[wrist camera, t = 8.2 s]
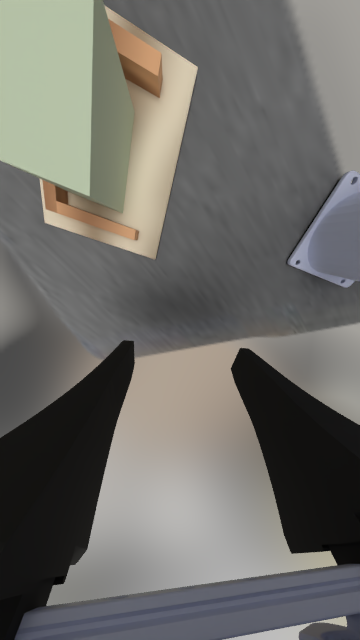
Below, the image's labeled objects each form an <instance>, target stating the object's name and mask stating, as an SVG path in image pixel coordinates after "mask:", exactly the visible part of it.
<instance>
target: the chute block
mask: <svg viewBox="0 0 360 640" xmlns="http://www.w3.org/2000/svg"><path fill="white" fill-rule="evenodd" d="M134 113H135V112H134V108H133V105H132V101H131V98H130V94H129V90H128V87H127V83H126V80H125V76H124V73H123V69H122V66H121V62H120V59H119V55H118V52H117V48H116V45H115V41H114V38H113V34H112V31H111V27H110V24H109V20H108V17H107V13H106V10H105V6H104V3H103V0H0V161H2V162H5V163H7V164H9V165H11V166H13V167H16V168H18V169H20V170H22V171H24V172H27V173H29V174H31V175H33V176H35V177H38V178H40V179H42V180H44V181H46V182H49V183H51V184H53V185H55V186H57V187H60V188H62V189H64V190H66V191H68V192H71V193H73V194H75V195H78V196H80V197H83V198H85V199H88V200H90V201H93V202H95V203H98V204H100V205H103V206H105V207H108V208H110V209H113V210H115V211H118V212H120V213H123V209H124V201H125V192H126V183H127V175H128V166H129V157H130V148H131V140H132V131H133V122H134Z"/></svg>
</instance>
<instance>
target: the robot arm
mask: <svg viewBox="0 0 360 640" xmlns="http://www.w3.org/2000/svg"><path fill="white" fill-rule="evenodd" d="M352 179H353V181H352ZM351 181H352V183H351ZM297 260H298V262H297V263H296V261H297ZM288 265H290V266H293V267H295V268H298V269H300V270H303V271H305V272H307V273H310V274H312V275H315V276H317V277H320V278H322V279H325V280H327V281H330V282H332V283H335V284H337V285H339V286H342V287H349V286H351V285H352V284H353V283H354V281H359V282H360V174H359V173H358V172H356V171H354V170H352V171H349V172H347V173H345V174H344V175H343V176H342V178H341V179H340V181H339V182H338V184H337V185H336V187H335V189H334V190H333V192H332V193H331V195H330V196H329V198H328V199H327V201H326V202H325V204H324V205H323V207H322V209H321V210H320V212H319V213H318V215H317V216H316V218H315V219H314V221H313V222H312V224H311V225H310V227H309V228H308V230H307V232H306V233H305V235H304V236H303V238H302V239H301V241H300V242H299V244H298V245H297V247H296V248H295V250H294V252H293V253H292V255H291V256H290V258H289V259H288ZM134 363H135V362H134V341H126V340H124V341H122V342H121V343H120V344H119V345H118V347H117V348H116V349H115V350H114V351H113V352H112V353H111V354H110V355H109V356H108V357H107V358H106V359H105V360H104V361H103V362H101V364H100V365H98V367H96V368H95V369H94V370H93V371H92V372H91V373H89V374H88V375H87V376H86V377H85V378H84V379H83V380H81V381H80V382H79V383H78V384H77V385H75V386H74V387H73V388H71V389H70V390H69V391H68V392H66V393H65V394H64V395H63V396H61V397H60V398H58V399H57V400H56V401H54V402H53V403H52V404H50V405H49V406H47V407H46V408H45V409H43V410H42V411H40V412H39V413H38V414H36V415H35V416H33V417H32V418H30V419H29V420H27V421H26V422H24V423H23V424H21V425H20V426H18V427H17V428H15V429H14V430H12V431H10V432H9V433H7V434H6V435H4V436H3V437H1V438H0V640H222V639H227V638H232V637H238V636H243V635H249V634H253V633H259V632H264V631H269V630H275V629H280V628H285V627H290V626H296V625H301V624H306V623H311V622H316V621H322V620H327V619H332V618H338V617H343V616H346V619H347V627H345V626H340V625H335V624H329V623H313V624H310V625H309V626H308V627H306V628H305V629H303V630H302V631H300V632H299V640H360V425H358V424H356V423H355V422H353V421H351V420H350V419H348V418H346V417H344V416H343V415H341V414H339V413H337V412H336V411H334V410H333V409H331V408H330V407H328V406H326V405H325V404H323V403H322V402H320V401H319V400H317V399H315V398H314V397H312V396H311V395H310V394H308V393H307V392H305V391H304V390H302V389H301V388H299V387H298V386H297V385H295V384H294V383H292V382H291V381H290V380H288V379H287V378H285V377H284V376H283V375H282V374H281V373H279V372H278V371H277V370H275V369H274V368H273V367H272V366H270V365H269V364H268V363H267V362H265V361H264V360H263V359H262V358H260V357H259V356H258V355H256V354H255V353H254V352H252V351H251V350H250V349H246V348H240V350H239V352H238V354H237V356H236V358H235V361H234V363H233V365H232V367H231V371H232V374H233V378H234V381H235V384H236V386H237V389H238V391H239V393H240V396H241V398H242V400H243V402H244V405H245V407H246V409H247V411H248V414H249V416H250V418H251V421H252V423H253V426H254V429H255V432H256V435H257V437H258V440H259V443H260V447H261V450H262V453H263V456H264V460H265V463H266V466H267V469H268V473H269V477H270V480H271V484H272V488H273V491H274V495H275V499H276V503H277V507H278V511H279V515H280V519H281V524H282V528H283V533H284V536H285V539H286V541H287V544H288V546H289V549H290V551H291V553H292V554H293V553H308V552H323V551H331V553H332V555H333V557H334V559H335V561H336V563H337V566H330V567H323V568H316V569H309V570H301V571H294V572H287V573H280V574H273V575H266V576H259V577H251V578H244V579H237V580H230V581H223V582H216V583H209V584H201V585H195V586H187V587H180V588H173V589H166V590H159V591H152V592H144V593H138V594H130V595H123V596H116V597H109V598H102V599H94V600H87V601H81V602H74V603H67V604H59V605H51V606H46V604H47V601H48V598H49V595H50V592H51V589H52V586H53V585H58V584H64V582H65V579H66V576H67V573H68V570H69V566H70V565H75V564H76V563H77V562H78V561H79V559H80V558H81V557H82V555H83V554H84V553H85V552H86V550H87V548H88V543H89V538H90V534H91V529H92V524H93V520H94V515H95V511H96V506H97V501H98V497H99V493H100V489H101V484H102V480H103V475H104V471H105V467H106V463H107V459H108V455H109V450H110V446H111V442H112V438H113V434H114V430H115V427H116V423H117V420H118V417H119V414H120V411H121V408H122V405H123V402H124V399H125V396H126V393H127V390H128V387H129V384H130V381H131V378H132V373H133V369H134Z"/></svg>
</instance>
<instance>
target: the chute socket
mask: <svg viewBox="0 0 360 640" xmlns="http://www.w3.org/2000/svg"><path fill="white" fill-rule="evenodd" d="M105 10H106V13H107V17H108V20H109V24H110V27H111V31H112V34H113V38H114V41H115V45H116V48H117V52H118V55H119V59H120V62H121V66H122V69H123V73H124V76H125V80H126V83H127V87H128V90H129V94H130V98H131V101H132V105H133V108H134V112H135V113H134V122H133V131H132V140H131V148H130V157H129V166H128V175H127V183H126V192H125V201H124V209H123V213H120V212H118V211H115V210H113V209H110V208H108V207H105V206H103V205H100V204H98V203H95V202H93V201H90V200H88V199H85V198H83V197H80V196H78V195H75V194H73V193H71V192H68V191H66V190H64V189H62V188H60V187H57V186H55V185H53V184H51V183H49V182H46V181H44V180H42V179H40V186H41V194H42V202H43V211H44V219H45V223H47V224H50V225H53V226H56V227H59V228H62V229H65V230H68V231H71V232H74V233H77V234H80V235H83V236H86V237H89V238H92V239H95V240H98V241H101V242H104V243H107V244H110V245H113V246H116V247H119V248H122V249H125V250H128V251H131V252H134V253H137V254H140V255H143V256H146V257H149V258H152V259H156V255H157V250H158V246H159V241H160V237H161V232H162V228H163V223H164V219H165V214H166V210H167V205H168V201H169V196H170V192H171V187H172V183H173V178H174V174H175V170H176V165H177V161H178V156H179V152H180V147H181V143H182V138H183V134H184V129H185V125H186V120H187V116H188V111H189V107H190V102H191V98H192V93H193V89H194V84H195V80H196V75H197V69H198V67H197V66H195V65H194V64H192V63H191V62H189V61H188V60H186V59H185V58H183V57H182V56H180V55H178V54H177V53H175V52H174V51H172V50H171V49H169V48H168V47H166V46H165V45H163V44H162V43H160V42H159V41H157V40H156V39H154V38H153V37H151V36H150V35H148V34H147V33H145V32H144V31H142V30H141V29H139V28H138V27H136V26H135V25H133V24H132V23H130V22H129V21H127V20H126V19H124V18H123V17H121V16H120V15H118V14H117V13H115V12H114V11H112V10H111V9H109V8H108V7H106V6H105Z"/></svg>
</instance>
